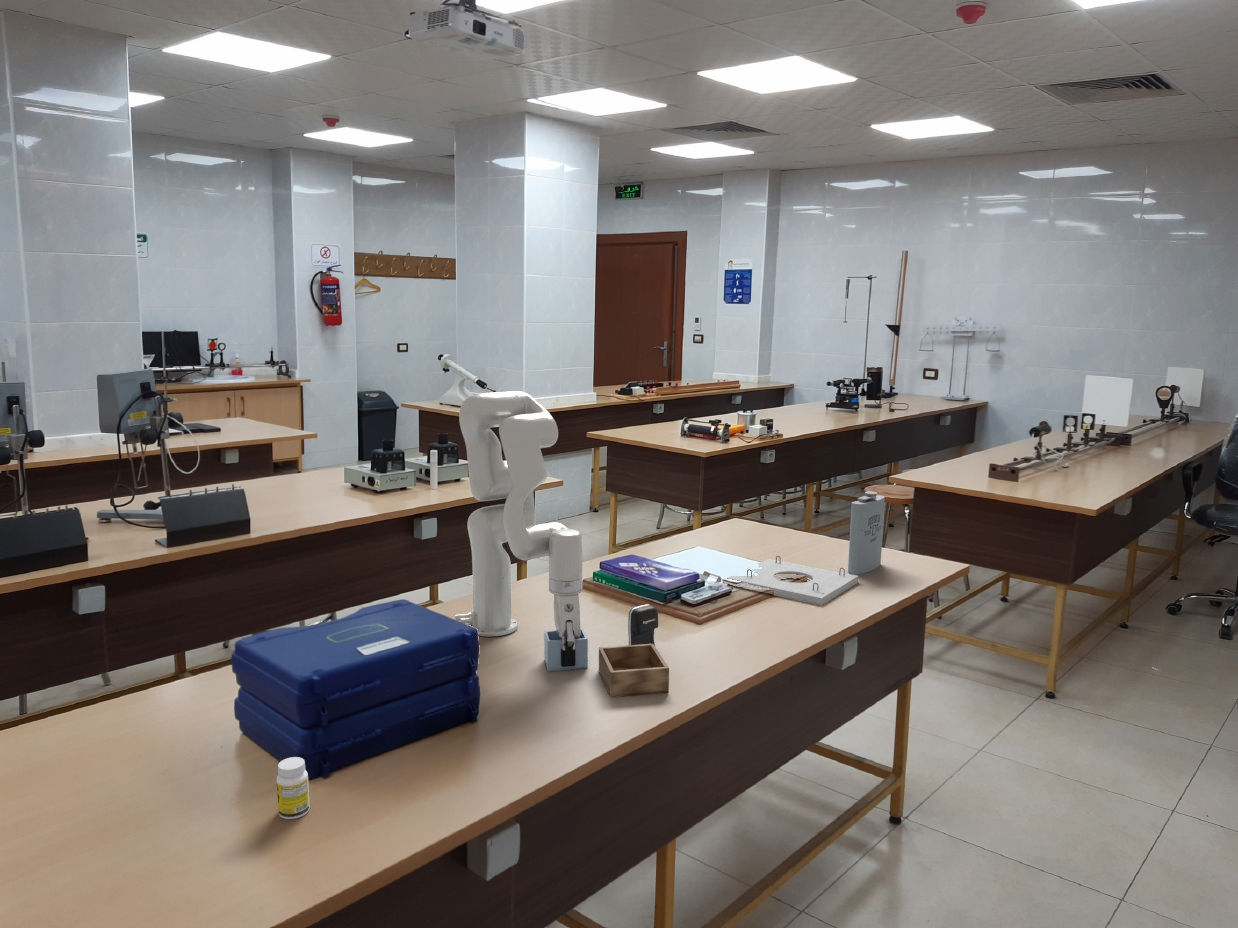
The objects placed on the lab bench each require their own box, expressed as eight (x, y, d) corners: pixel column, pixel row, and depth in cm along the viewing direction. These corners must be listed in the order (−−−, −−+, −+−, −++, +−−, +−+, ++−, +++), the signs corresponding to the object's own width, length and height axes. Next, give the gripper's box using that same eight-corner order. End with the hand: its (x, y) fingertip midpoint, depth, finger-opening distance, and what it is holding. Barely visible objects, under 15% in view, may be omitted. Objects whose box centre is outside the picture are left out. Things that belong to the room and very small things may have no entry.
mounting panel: (822, 589, 238) (727, 570, 256) (821, 607, 239) (726, 586, 257) (859, 568, 260) (769, 551, 277) (858, 584, 260) (768, 566, 278)
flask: (859, 575, 267) (864, 496, 263) (846, 572, 270) (850, 494, 266) (884, 564, 280) (889, 488, 276) (871, 561, 283) (876, 486, 279)
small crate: (547, 671, 193) (547, 641, 192) (544, 659, 199) (544, 631, 198) (587, 668, 195) (587, 638, 194) (582, 657, 201) (583, 628, 200)
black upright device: (637, 659, 200) (637, 612, 198) (627, 654, 203) (627, 607, 201) (660, 652, 204) (660, 606, 202) (649, 647, 207) (650, 602, 205)
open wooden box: (610, 697, 180) (610, 672, 179) (598, 670, 194) (598, 647, 193) (668, 692, 183) (669, 667, 182) (652, 666, 196) (653, 643, 195)
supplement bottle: (283, 803, 140) (280, 755, 138) (313, 802, 140) (310, 754, 139) (274, 820, 135) (271, 771, 134) (305, 819, 135) (302, 770, 134)
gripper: (588, 595, 186) (588, 673, 189) (576, 572, 203) (576, 644, 206) (554, 597, 185) (554, 676, 188) (544, 574, 201) (544, 646, 204)
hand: (565, 659), depth 197 cm, fingers closed on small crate, 6 cm apart
